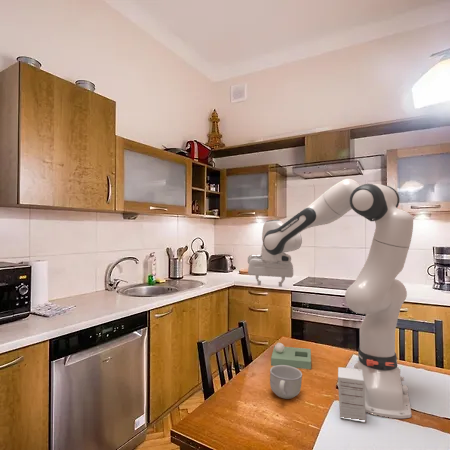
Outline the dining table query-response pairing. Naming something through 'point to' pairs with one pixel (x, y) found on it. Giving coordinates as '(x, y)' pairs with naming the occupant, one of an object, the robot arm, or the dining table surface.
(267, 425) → the dining table surface
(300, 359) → the putting deck
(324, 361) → the dining table surface
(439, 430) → the dining table surface
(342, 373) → the supplement box
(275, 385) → the teacup
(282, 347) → the ball
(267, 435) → the dining table surface
